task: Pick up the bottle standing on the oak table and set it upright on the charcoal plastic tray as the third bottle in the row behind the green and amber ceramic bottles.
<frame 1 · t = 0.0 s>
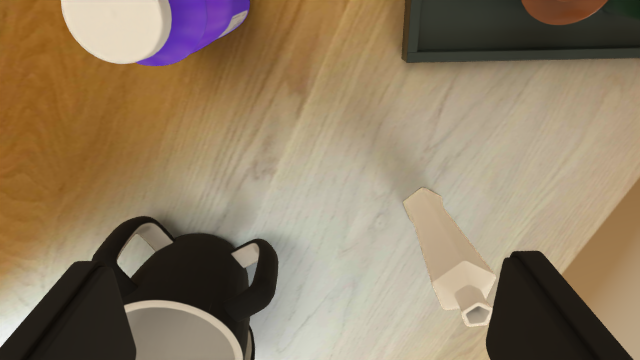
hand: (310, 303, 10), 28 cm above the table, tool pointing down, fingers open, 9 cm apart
mug: (203, 265, 44), on the table
bottle: (208, 0, 32), on the table
perfume bottle: (424, 203, 41), on the table
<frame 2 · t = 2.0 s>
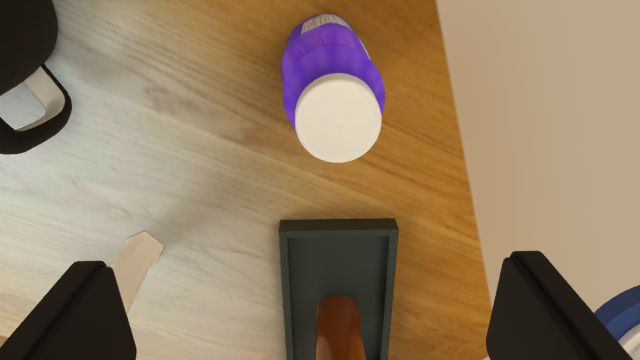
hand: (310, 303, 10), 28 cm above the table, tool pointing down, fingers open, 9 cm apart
mug: (3, 11, 33), on the table
tray: (336, 305, 46), on the table
bottle: (327, 59, 35), on the table
perfume bottle: (146, 248, 43), on the table
middle bottle: (337, 311, 46), point 1 cm above the table, touching tray
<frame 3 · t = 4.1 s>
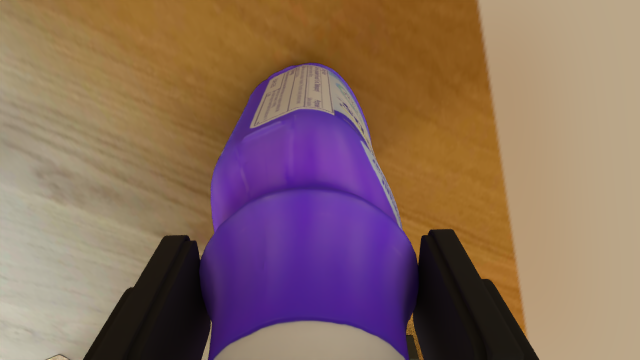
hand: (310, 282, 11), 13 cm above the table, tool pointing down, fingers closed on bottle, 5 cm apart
bottle: (312, 125, 22), on the table, touching gripper
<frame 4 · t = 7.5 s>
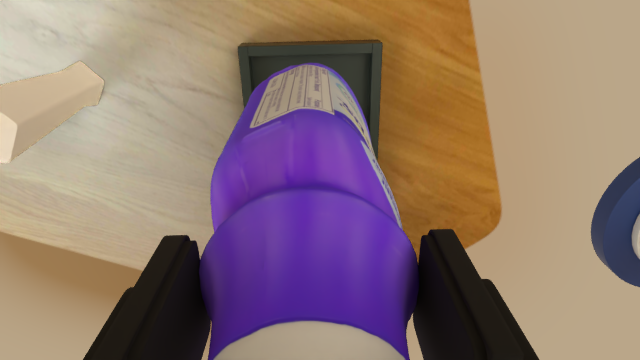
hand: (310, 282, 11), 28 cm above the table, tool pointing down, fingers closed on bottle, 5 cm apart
tray: (314, 163, 39), on the table
bottle: (311, 125, 22), point 15 cm above the table, touching gripper
perfume bottle: (84, 86, 36), on the table
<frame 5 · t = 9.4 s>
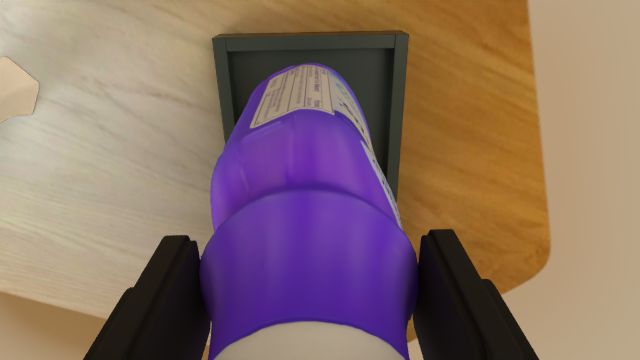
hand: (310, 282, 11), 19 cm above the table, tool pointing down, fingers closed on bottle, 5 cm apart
tray: (314, 190, 31), on the table
bottle: (311, 125, 22), point 6 cm above the table, touching gripper
perfume bottle: (13, 89, 27), on the table
when the fingers open (15 cm above the table, at t = 10.7 s): bottle drops 1 cm, resting on tray.
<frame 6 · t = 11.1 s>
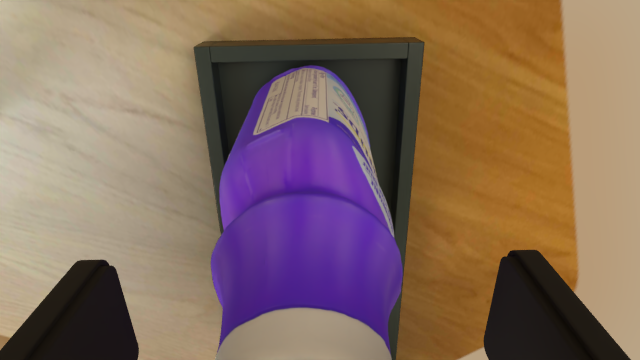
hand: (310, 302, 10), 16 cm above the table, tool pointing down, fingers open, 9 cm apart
tray: (314, 217, 27), on the table
bottle: (313, 122, 24), point 1 cm above the table, touching tray
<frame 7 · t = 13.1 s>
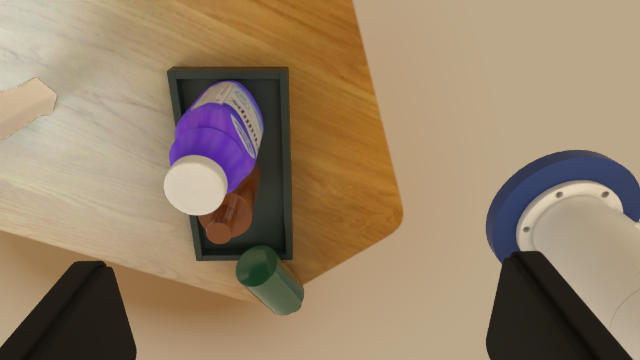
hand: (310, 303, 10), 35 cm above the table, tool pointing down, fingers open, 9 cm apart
tray: (239, 168, 46), on the table
bottle: (235, 111, 43), resting on tray
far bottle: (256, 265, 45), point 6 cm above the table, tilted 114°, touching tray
perfume bottle: (40, 98, 42), on the table
middle bottle: (239, 174, 46), point 1 cm above the table, touching tray
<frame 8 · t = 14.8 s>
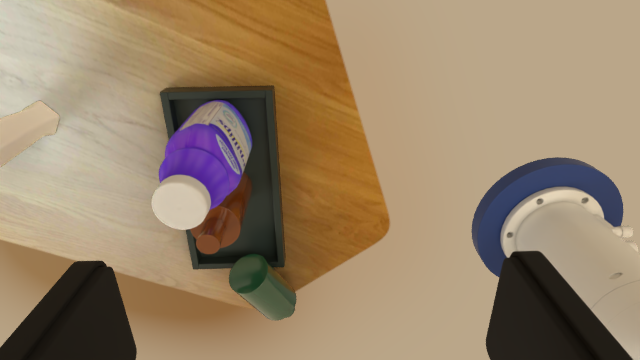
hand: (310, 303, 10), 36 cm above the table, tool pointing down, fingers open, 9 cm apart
tray: (231, 181, 49), on the table
bottle: (225, 128, 45), resting on tray
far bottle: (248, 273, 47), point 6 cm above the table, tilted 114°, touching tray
perfume bottle: (44, 119, 45), on the table
middle bottle: (231, 186, 48), point 1 cm above the table, touching tray
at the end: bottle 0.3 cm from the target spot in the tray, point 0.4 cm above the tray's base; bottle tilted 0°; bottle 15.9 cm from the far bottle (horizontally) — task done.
